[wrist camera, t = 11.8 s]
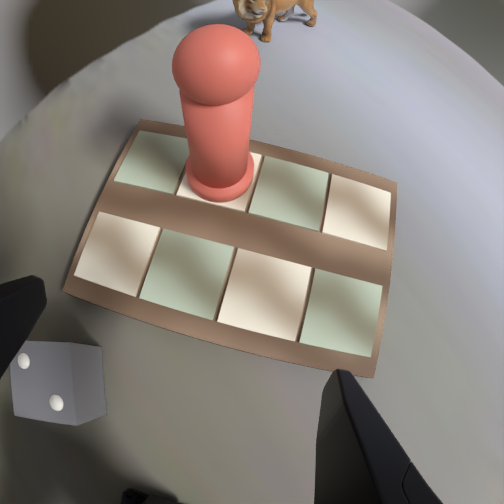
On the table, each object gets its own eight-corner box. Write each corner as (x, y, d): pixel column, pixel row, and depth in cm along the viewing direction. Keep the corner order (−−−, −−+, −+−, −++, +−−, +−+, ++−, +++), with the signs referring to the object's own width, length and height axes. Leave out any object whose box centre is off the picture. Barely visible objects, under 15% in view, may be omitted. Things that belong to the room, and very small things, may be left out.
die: (107, 414, 19) (76, 425, 14) (50, 408, 19) (13, 415, 14) (101, 347, 21) (69, 342, 16) (46, 345, 20) (8, 339, 15)
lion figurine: (253, 59, 31) (260, -8, 22) (219, 42, 32) (219, -21, 23) (324, 22, 35) (337, -30, 26) (293, 8, 36) (302, -43, 27)
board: (366, 377, 21) (374, 378, 20) (69, 294, 22) (60, 290, 20) (391, 189, 26) (398, 181, 25) (143, 127, 27) (139, 117, 26)
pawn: (257, 199, 24) (280, 57, 11) (188, 206, 23) (156, 66, 11) (248, 145, 25) (261, 6, 13) (186, 151, 25) (164, 12, 12)
